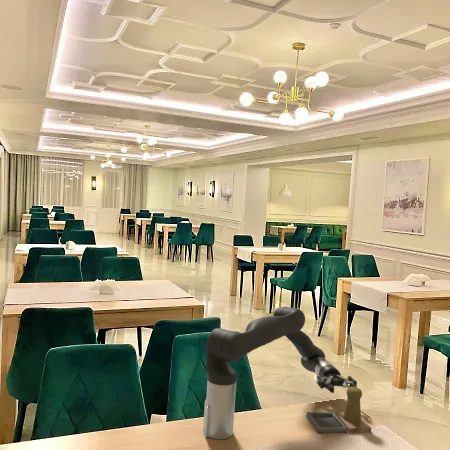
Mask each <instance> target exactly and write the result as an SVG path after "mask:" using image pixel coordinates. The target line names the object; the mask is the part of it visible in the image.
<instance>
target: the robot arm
mask: <svg viewBox="0 0 450 450" xmlns="http://www.w3.org/2000/svg"><path fill="white" fill-rule="evenodd" d="M305 323H306V316H305V313H304V311H302V310H301V309H299V308H296V307H290V306H289V307H288V306H279V307H277V308H276V309H275V310H274V312H273V315H269V316H262V317H259V318H256V319H254V320H253V319H252V321H250V322H248V324H247V325H246V328H245V331H244V332H235V331H232V330H228V329H225V328H220V327H217V328H214V329H212V330H211V331H210V333H209V335H208V338H207V341H206V354H205V355H206V357H205V359H206V360H205V361H206V364H205V366H206V367H205V368H206V369H205V370H206V373H207V385H206V398H205V400H204V411H203V424H202V425H203V427H202V428H203V433H204V436H205V437H206V438H210V439H215V440H224V439H229V438H230V437H232V436H233V435H234V420H235V408H236V407H235V405H236V393H237V380H238V378H237V377H238V376H237V374H238V373H237V372H236V370H235V369H234V368H233V367H232V366H231V365H230V363H235V362H238V361H239V360H240V359H242V358H243V357H245V356H247V355H249V354H250V353H251V352H253V351H254V350H256V349H258V348H260V347H263V346H265V345H268V344H270V343H271V342H274V341H276V340H278V339H280V338H283V337H284V336H285V337H286V338H287V339H288V341H289V342H291V343H292V345H293V346H294V347H295V348H296V350H297V352H298V353H299V355H300V356H301V358H300V363H301V366H302V367H303V368H304V369H305V370H307V371H308V372H312V373H314V374H316V381H315V382H316V384H317V385H318V387H319V388H320V389H322V390H323V389H325V390H327V391H329V393H331V394H334V393H335V387H339V388H344V389H348V388H349V387H357V388H358V386H357V385H358V380H356V379H355V378H353V377H352V376H350V375H348V376H347V377H344V376H343V375H341V372H340V371H339V370H338V369H337V368H336V367H335V366H334V365H333V364H332V363H331V362H329V361H328V360H327V359H326V354H325V352H324V351H323V349H321V348H319V347H318V346H316V345H315V343H314V342H313V341H312V339H311V338H310V336H308V334H307V333H305V332H303V331H302V329H303V327H304V325H305ZM228 362H229V363H228Z"/></svg>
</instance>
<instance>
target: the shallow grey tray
mask: <svg viewBox="0 0 450 450" xmlns="http://www.w3.org/2000/svg"><path fill="white" fill-rule="evenodd" d="M334 412H335V411H308V412H306V413H305V417H306V418H307V420H308V421H309V422H310V424H311V425H312V426H313V428H314V429H315V430H316V432H317V433H318V434H345V433H348V431H347V427H346V426H345V425H344V424H343V423H342V421H341V420H340V419H339V418H338V417H337V416H336V414H335V413H334Z"/></svg>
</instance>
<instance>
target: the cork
mask: <svg viewBox="0 0 450 450" xmlns="http://www.w3.org/2000/svg"><path fill="white" fill-rule="evenodd" d="M346 396H347V399H346V403H345V409H344V411H343V412H344V416H343V419H344V420H345V421H347V422H350V423H360V422H361V418H362V415H361V414H362V413H361V411H362V410H361V398H362V396H363V391H362V390H361V388H359V387H358V386H357V387H349V388H346Z"/></svg>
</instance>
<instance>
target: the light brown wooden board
mask: <svg viewBox="0 0 450 450" xmlns="http://www.w3.org/2000/svg"><path fill="white" fill-rule="evenodd" d="M333 412H334V413H335V414H336V416H337V417H338V418H339V419H340V420H341V421H342V423H343V424H344V425H345V426H346V427H347V433H349V434H350V433H351V434H352V433H371V432H372V427H371V426H370V425H369V424H368V423H367V422H366V421H365V419H363V418H362V417H361V422H360V423H350V422H347V421H345V420H344V419H343V416H344V411H333Z"/></svg>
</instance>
